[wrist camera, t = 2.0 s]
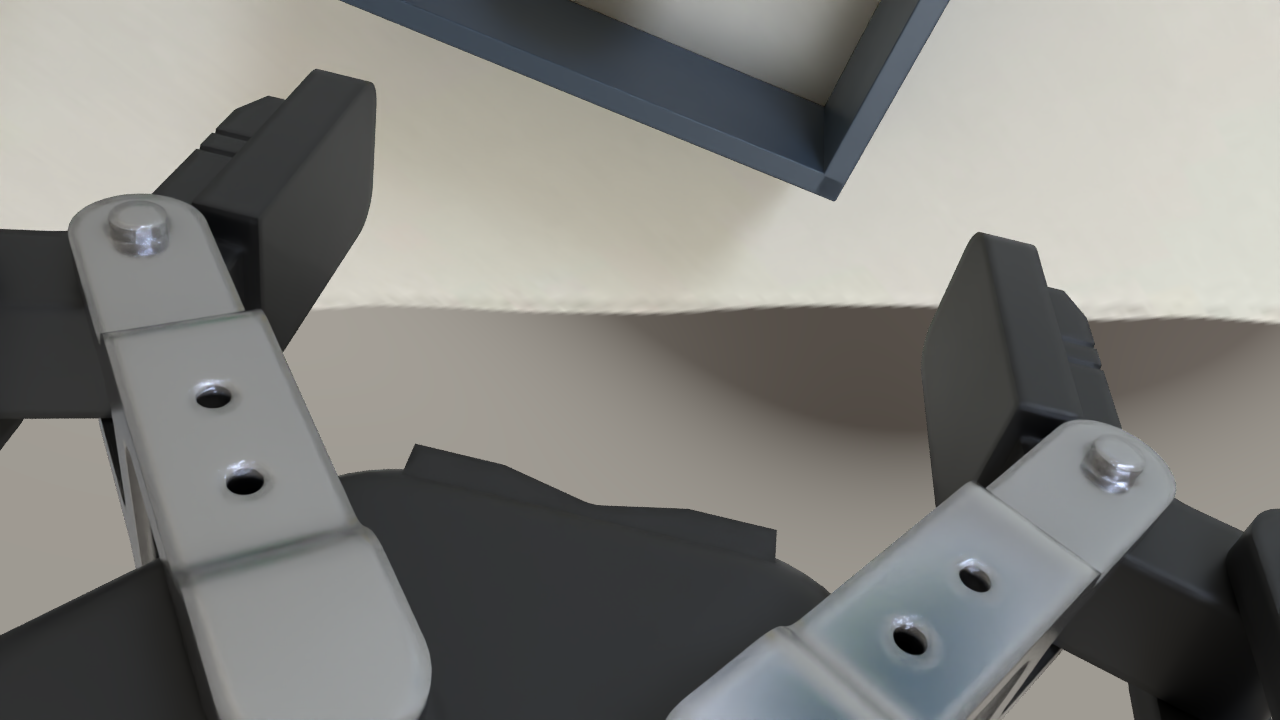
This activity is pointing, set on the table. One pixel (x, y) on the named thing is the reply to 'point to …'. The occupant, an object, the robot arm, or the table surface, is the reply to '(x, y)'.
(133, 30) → the table surface
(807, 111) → the rectangular frame
